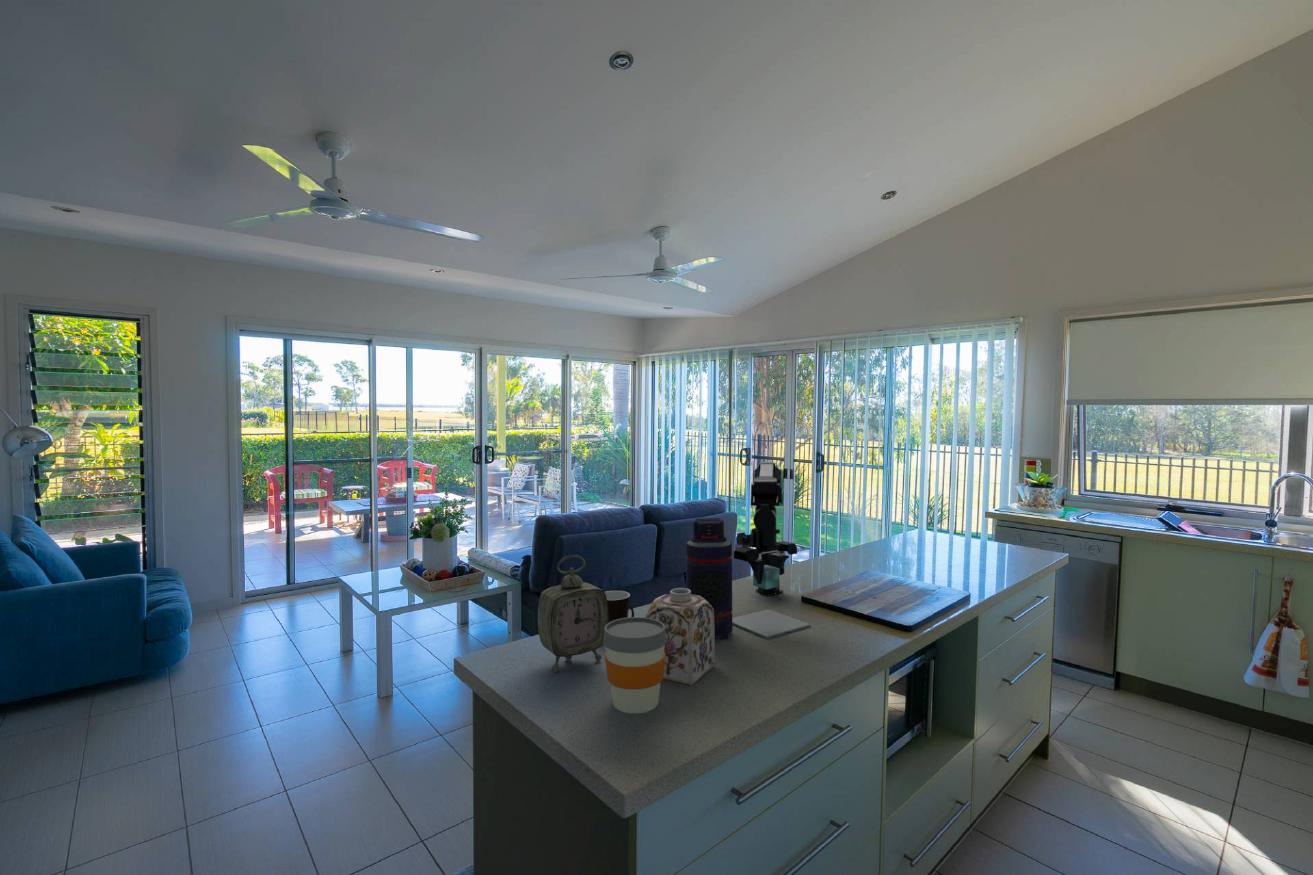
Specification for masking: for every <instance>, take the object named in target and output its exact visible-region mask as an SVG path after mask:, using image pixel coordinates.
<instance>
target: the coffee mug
mask: <svg viewBox="0 0 1313 875" xmlns="http://www.w3.org/2000/svg"><path fill="white" fill-rule="evenodd" d="M604 592H605V594H606V598H607V603H608V614H609V619H608V623H609V622H611V621H614V620H617V619H622V618H629V617H628V616H629V609H630V612H631V617H635V611H634V608H633V607H632V606H631V605H630V597H631V594H630V593H629V592H627V591H625V590H609V591H608V590H607V591H604Z"/></svg>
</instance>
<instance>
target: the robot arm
mask: <svg viewBox="0 0 1313 875" xmlns="http://www.w3.org/2000/svg"><path fill="white" fill-rule="evenodd" d="M750 487H751V488H750V506H753V507H754V506H756V507H754V508H755V509H754V516H753V524H754V528H751V533H749V534H746V532H739V533H738V532H737V533H736V537H735V538H736V544H737V546H739V547H735V549H734V550H733V559H736V560H739V561H743V562H747V563H748V564H749V566H750V568H751V569H752V570H751V571H752V574H753V573H754V576H755V579H756V581H757V584H761V581H762V577H763V570H764V565H769V566H772V567H776V568H779V576H783V575H785V563H786V561H787V559H789V558H790V555H796V554H798V546H797V544H796V543H795V542H790V541H786V540H782V541H777V540H778V539H777V538H778V537H777V535H778V534H781V530H780V529H778V528H777V508H776V507H780V506H781V503H783V487H782V470H781V469H780V468H779V467H777V466H776V462H773V461H761V462H758V466H757V468H755V469H754V470H753V483H751V485H750ZM740 546H741V547H740ZM786 553H787V554H788V555H786ZM757 591H759V592H758V593H760V592H761V594H763V593H765V594H764V595H766V594H767V595H766V596H773V595H772V594H774V595H776V594H775V593H778V594H781V593H780V592H782V593H784V591H783V590H782V589H780V582H779V587H775V588H771V589H763V588H760V587H757V588H756V589H755V592H757Z"/></svg>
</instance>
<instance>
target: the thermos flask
mask: <svg viewBox="0 0 1313 875" xmlns="http://www.w3.org/2000/svg"><path fill="white" fill-rule="evenodd" d="M692 524H693V527H692V528H693V536H692V537H691V538H690V540H688V541H686V543H685V556H686V558H685V567H686V569H685V570H686V573H685V576H686V578H685V579H686V582H685V583H686V589H689V590H690V591H691V594H692V595H698V596H701V597H703V598H704V599H705V600H706V601H708V602H709V604H710V605H711V606H712V608H713V609H714V629H715V638H721V640H722V641H725V640H727V639H729V635H730V634H731V633H732V632H733V630H734V628H733V626H734V625H732V618H733V559H732V556H733V549H732V548H733V543H732V541H729V540H727V538H728V535H727V531H726V529H725V526H724V525H725V522H724V520H723V519H721V518H720V517H719V518H718V517H709V518H708V517H703V518H701V517H700V518H699V517H697V518H695V519H694V520H693V523H692Z"/></svg>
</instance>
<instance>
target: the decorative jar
mask: <svg viewBox="0 0 1313 875" xmlns="http://www.w3.org/2000/svg"><path fill="white" fill-rule="evenodd" d="M645 618H652V619H656V620H659V621H661V622H662V623H664V625H665V630H666V638H667V642H666V644H665V647H664V652H665V654H666V657H665V666H664V675H663V679H662V680H667V681H670V682H675V683H676V682H677V683H680V684H684V685H689V686H693V685H694V684H695V683H696V682H697V681H698V680H700V679H701V678H702V677H703V676H704V675H706V674H707V673H708V672H709V671H711V670H712V668H714V667H715V664H716V663H715V662H716V660H715V659H716V655H715V654H716V649H715V647H716V645H715V644H716V642H715V641H716V640H715V638H716V637H715V629H714V609H713V608H712V606H711V605H710V604H709V602H708V601H706V600H705V599H704V598H703V597H701V596H698V595H692V594H691V591H690V590H689V589H686V588H685V587H677V588H676V587H675V588H673V589H671V590H670V591H669V593H667V594H663V595H661V596H658V597H656V598H655V599H654V600H653V601H652V603H651V605H650V607H649V608H648V609H647V612H646V614H645Z"/></svg>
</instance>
